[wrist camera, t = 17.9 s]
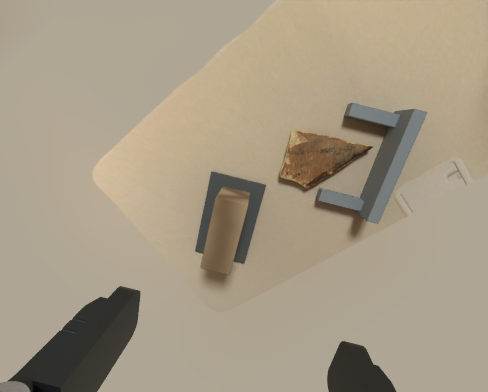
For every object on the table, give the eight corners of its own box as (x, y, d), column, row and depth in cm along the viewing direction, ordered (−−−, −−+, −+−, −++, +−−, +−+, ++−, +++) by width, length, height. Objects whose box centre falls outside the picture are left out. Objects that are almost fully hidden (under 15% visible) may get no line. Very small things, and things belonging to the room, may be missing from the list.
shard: (368, 146, 32) (374, 147, 30) (348, 198, 34) (353, 201, 32) (291, 127, 32) (293, 127, 30) (276, 180, 34) (277, 183, 32)
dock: (406, 114, 30) (427, 112, 26) (364, 213, 34) (378, 224, 30) (349, 100, 30) (363, 95, 26) (314, 200, 34) (321, 209, 30)
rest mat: (265, 184, 34) (265, 185, 33) (244, 261, 37) (244, 263, 37) (211, 171, 34) (211, 171, 33) (195, 249, 37) (195, 250, 37)
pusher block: (249, 192, 34) (247, 205, 28) (234, 252, 37) (229, 275, 31) (223, 185, 34) (215, 197, 28) (209, 246, 37) (200, 267, 31)
